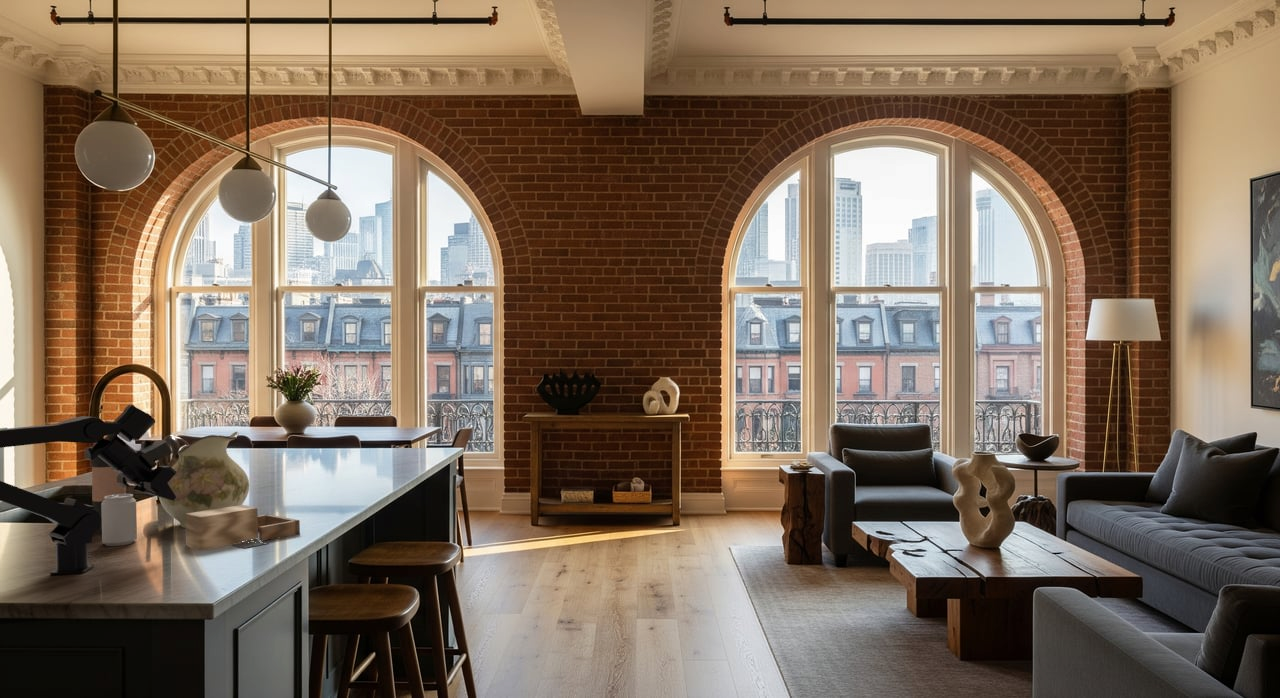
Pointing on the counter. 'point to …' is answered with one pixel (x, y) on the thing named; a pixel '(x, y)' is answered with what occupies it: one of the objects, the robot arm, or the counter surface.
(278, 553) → the counter surface
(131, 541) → the can
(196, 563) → the counter surface
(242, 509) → the oak block
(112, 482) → the travel mug
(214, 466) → the pitcher
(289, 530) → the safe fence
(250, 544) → the plate
